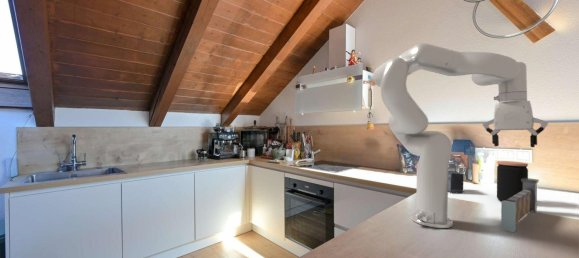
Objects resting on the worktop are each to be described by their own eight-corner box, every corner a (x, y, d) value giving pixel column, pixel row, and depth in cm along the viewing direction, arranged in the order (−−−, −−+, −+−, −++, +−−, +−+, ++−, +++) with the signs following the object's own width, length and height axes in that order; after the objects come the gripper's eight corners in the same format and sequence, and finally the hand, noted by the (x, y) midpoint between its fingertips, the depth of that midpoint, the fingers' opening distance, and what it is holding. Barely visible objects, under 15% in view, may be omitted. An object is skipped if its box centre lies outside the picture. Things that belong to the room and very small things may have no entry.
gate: (514, 226, 82) (514, 201, 82) (506, 225, 83) (506, 199, 83) (531, 211, 98) (531, 190, 98) (524, 210, 99) (524, 189, 99)
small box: (464, 194, 128) (464, 173, 128) (450, 193, 129) (450, 173, 129) (455, 189, 138) (455, 170, 138) (442, 188, 140) (442, 169, 140)
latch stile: (513, 232, 79) (513, 203, 79) (501, 229, 81) (501, 201, 81) (515, 230, 81) (515, 202, 81) (503, 227, 83) (504, 200, 83)
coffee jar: (531, 206, 107) (531, 164, 107) (498, 202, 113) (499, 162, 113) (524, 201, 116) (524, 162, 116) (494, 197, 122) (495, 160, 122)
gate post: (536, 214, 97) (536, 180, 97) (520, 211, 101) (521, 178, 101) (538, 212, 100) (538, 179, 100) (523, 209, 103) (523, 177, 104)
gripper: (479, 100, 93) (480, 146, 93) (546, 94, 80) (547, 148, 80) (485, 101, 98) (486, 145, 98) (548, 96, 85) (550, 146, 84)
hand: (513, 146), depth 89 cm, fingers open, 9 cm apart
